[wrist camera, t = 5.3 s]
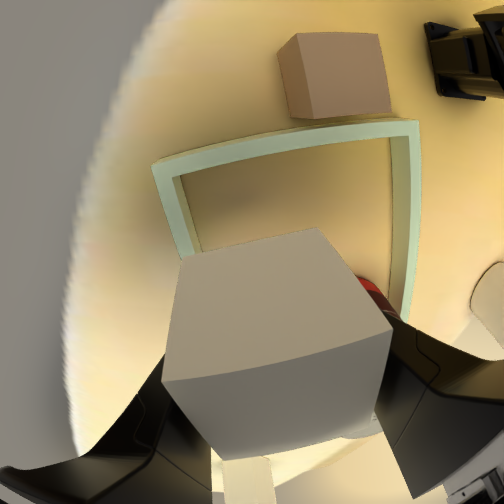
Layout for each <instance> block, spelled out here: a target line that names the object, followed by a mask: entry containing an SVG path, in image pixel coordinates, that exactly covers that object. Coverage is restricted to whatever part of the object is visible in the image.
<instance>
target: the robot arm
mask: <svg viewBox="0 0 504 504" xmlns="http://www.w3.org/2000/svg"><path fill="white" fill-rule="evenodd" d="M473 16H474V18H475V20H476V21H477V22H478V23H479V25H480V27H478V28H469V29H462V30H458V29H455V28H452V27H448V26H445V25H441V24H437V23H433V22H427V23H425V30H426V34H427V38H428V42H429V47H430V51H431V56H432V61H433V67H434V72H435V79H436V85H437V91H438V94H439V95H440V96H444V97H455V98H465V99H474V100H481V101H485V100H486V96H487V97H494V98H501V99H504V5H502V6H496V7H493V8H490V9H487V10H484V11H481V12H478V13H476V14H473ZM430 27H431V28H430ZM442 89H443V91H442ZM380 310H381V309H380ZM381 312H382V313H383V315H384V316H385V318H386V319H387V320H388V322H389V323H390V325H391V326H392V328H393V333H392V338H391V343H390V348H389V353H388V357H387V362H386V366H385V370H384V374H383V378H382V382H381V386H380V389H379V393H378V397H377V400H376V404H375V407H374V412H375V414H376V416H377V419H378V421H379V423H380V425H381V427H382V429H383V431H384V434H385V436H386V438H387V440H388V442H389V445H390V447H391V449H392V451H393V454H394V456H395V458H396V461H397V463H398V465H399V467H400V470H401V472H402V475H403V477H404V479H405V481H406V484H407V486H408V489H409V491H410V493H411V496H412V498H413V499H415V498H417V497H419V496H421V495H423V494H425V493H427V492H429V491H431V490H433V489H434V488H436V487H438V486H440V485H442V484H443V486H444V488H445V491H446V493H447V495H448V498H447V502H448V504H504V360H497V361H489V360H485V359H481V358H478V357H476V356H474V355H471V354H469V353H466V352H464V351H462V350H459V349H457V348H454V347H452V346H450V345H448V344H445V343H443V342H441V341H439V340H437V339H435V338H433V337H431V336H429V335H427V334H425V333H423V332H422V331H420V330H417V329H416V328H414V327H412V326H410V325H409V324H407V323H405V322H403V321H401V320H400V319H398V318H396V317H394V316H392V315H390V314H389V313H387V312H385V311H383V310H381ZM164 359H165V354H164V355H163V357H162V358H161V360H160V361H159V362H158V364H157V365H156V367H155V368H154V370H153V371H152V372H151V374H150V375H149V377H148V378H147V380H146V381H145V382H144V384H143V385H142V387H141V388H140V390H139V391H138V394H136V395H135V397H134V398H133V399H132V401H131V402H130V404H129V405H128V406H127V408H126V409H125V410H124V412H123V413H122V414H121V415H120V417H119V418H118V419H117V420H116V421H115V423H114V424H113V425H112V426H111V427H110V428H109V430H108V431H107V432H106V433H105V434H104V435H103V437H102V438H101V439H100V440H99V441H98V442H97V443H96V445H95V446H94V447H93V448H92V449H91V450H90V451H88V452H87V453H86V454H84V455H82V456H80V457H78V458H75V459H71V460H68V461H64V462H60V463H57V464H53V465H49V466H45V467H41V468H37V469H31V470H20V469H16V468H14V467H11V466H5V467H1V468H0V484H2V485H3V486H5V487H7V488H8V489H10V490H12V491H13V492H15V493H17V494H19V495H20V496H22V497H24V498H26V499H28V500H30V501H31V502H33V503H36V504H212V492H211V491H212V480H211V446H210V445H209V444H208V443H207V441H206V440H205V439H204V438H203V437H202V435H201V434H200V433H199V432H198V431H197V429H196V428H195V427H194V426H193V424H192V423H191V422H190V420H189V419H188V418H187V417H186V415H185V414H184V413H183V411H182V410H181V409H180V407H179V406H178V405H177V403H176V402H175V401H174V399H173V398H172V396H171V395H170V394H169V392H168V391H167V389H166V388H165V387H164V385H163V384H162V382H161V380H162V373H163V366H164ZM0 504H8V503H6V502H5V501H3V500H1V499H0Z"/></svg>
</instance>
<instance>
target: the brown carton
mask: <svg viewBox="0 0 504 504" xmlns="http://www.w3.org/2000/svg"><path fill="white" fill-rule="evenodd" d="M277 56H278V60H279V65H280V69H281V74H282V79H283V83H284V88H285V93H286V98H287V103H288V108H289V113H290V117H293V118H306V119H320V118H328V117H337V116H347V115H359V114H373V113H392V110H391V102H390V95H389V89H388V83H387V77H386V71H385V66H384V61H383V56H382V51H381V47H380V43H379V38H378V34H368V33H346V32H320V33H297V34H295V35H294V36H293V37H292V38H291V39H290V40H289V41H288V42H287V43H286V44H285V45H284V46H283V47H282V48H281V49H280V50H279V51H278V52H277Z"/></svg>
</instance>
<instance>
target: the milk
mask: <svg viewBox="0 0 504 504" xmlns="http://www.w3.org/2000/svg"><path fill="white" fill-rule="evenodd" d="M222 471H223V484H224V497H225V504H277V502H276V496H275V491H274V485H273V479H272V473H271V467H270V461H269V459H267V458H264V457H262V456H257V457H251V458H244V459H236V460H228V461H223V460H222Z"/></svg>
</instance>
